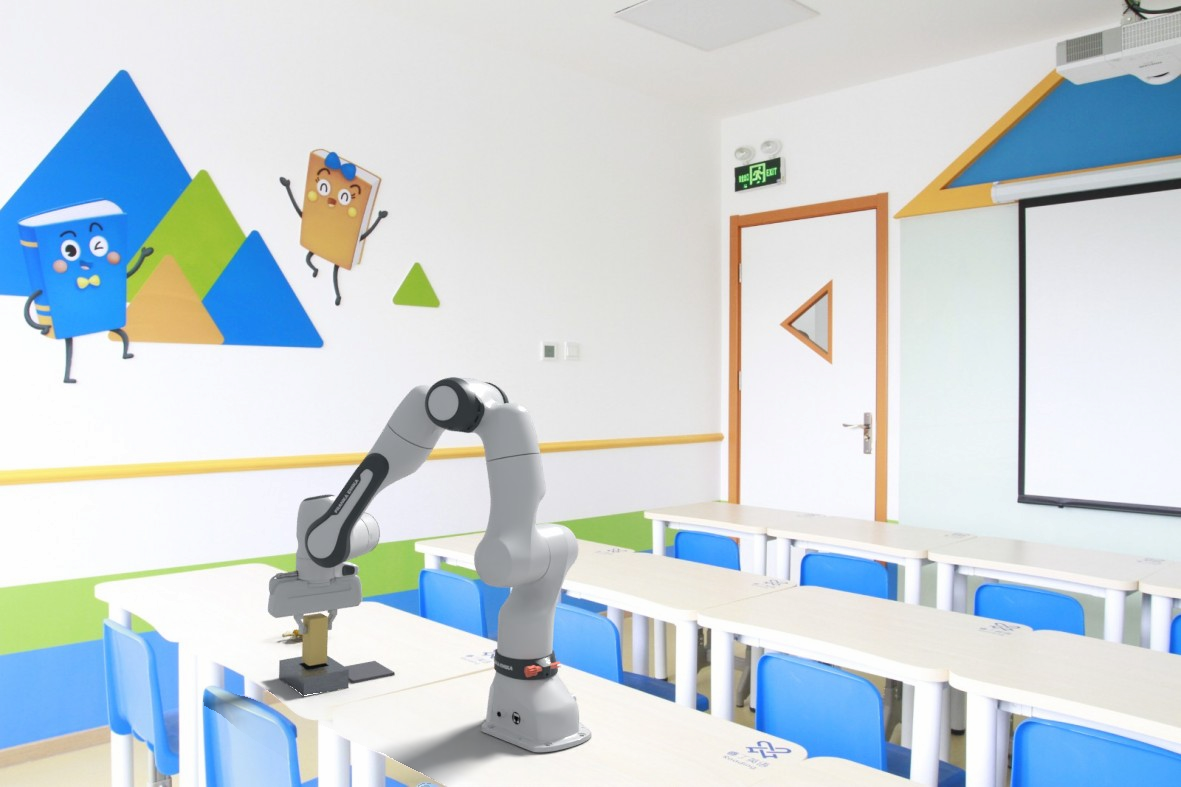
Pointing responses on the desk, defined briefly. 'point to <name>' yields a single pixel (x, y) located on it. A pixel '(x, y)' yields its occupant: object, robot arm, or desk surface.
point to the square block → (315, 639)
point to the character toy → (293, 634)
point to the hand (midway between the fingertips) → (315, 631)
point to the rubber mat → (367, 671)
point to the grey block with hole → (313, 675)
